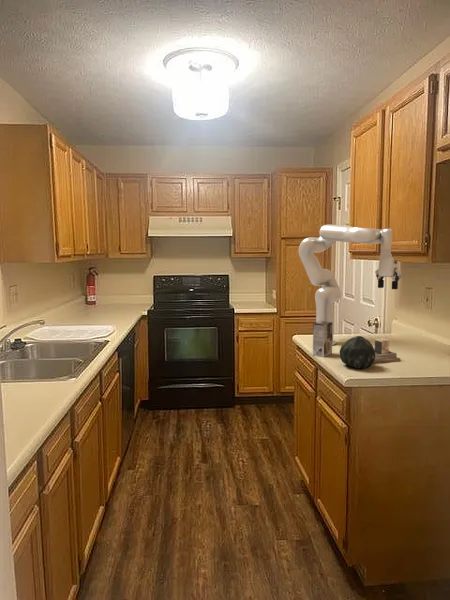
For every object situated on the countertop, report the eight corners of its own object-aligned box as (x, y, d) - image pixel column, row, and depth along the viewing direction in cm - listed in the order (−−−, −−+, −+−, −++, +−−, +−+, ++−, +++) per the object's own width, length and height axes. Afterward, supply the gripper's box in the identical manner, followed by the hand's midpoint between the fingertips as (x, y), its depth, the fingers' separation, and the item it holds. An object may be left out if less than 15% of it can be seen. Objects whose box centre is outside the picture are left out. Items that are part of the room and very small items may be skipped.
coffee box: (320, 352, 217) (321, 320, 215) (332, 353, 213) (333, 321, 211) (312, 355, 210) (312, 323, 208) (324, 357, 206) (324, 324, 204)
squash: (350, 348, 200) (343, 327, 191) (382, 354, 191) (376, 332, 182) (339, 372, 193) (331, 352, 184) (372, 379, 184) (365, 359, 175)
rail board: (353, 357, 204) (354, 345, 204) (380, 354, 210) (381, 342, 209) (372, 364, 192) (372, 350, 191) (400, 360, 198) (400, 347, 197)
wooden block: (381, 354, 205) (381, 338, 204) (388, 356, 200) (389, 340, 200) (373, 355, 204) (374, 339, 203) (381, 357, 199) (381, 340, 198)
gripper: (407, 253, 203) (406, 289, 205) (382, 253, 219) (381, 287, 221) (395, 253, 201) (394, 290, 202) (370, 254, 217) (369, 287, 219)
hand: (387, 288), depth 212 cm, fingers open, 9 cm apart
